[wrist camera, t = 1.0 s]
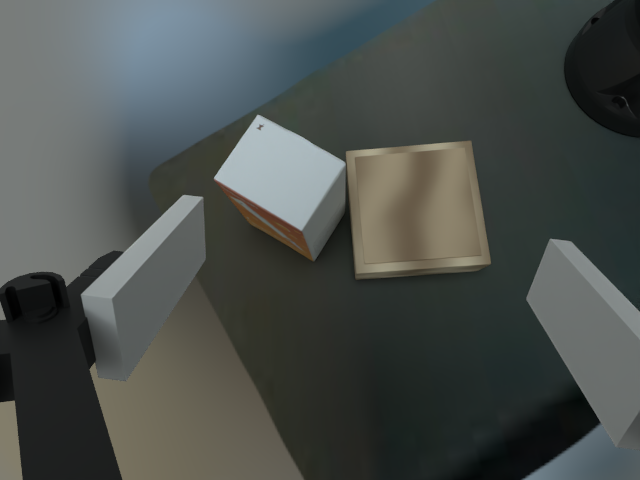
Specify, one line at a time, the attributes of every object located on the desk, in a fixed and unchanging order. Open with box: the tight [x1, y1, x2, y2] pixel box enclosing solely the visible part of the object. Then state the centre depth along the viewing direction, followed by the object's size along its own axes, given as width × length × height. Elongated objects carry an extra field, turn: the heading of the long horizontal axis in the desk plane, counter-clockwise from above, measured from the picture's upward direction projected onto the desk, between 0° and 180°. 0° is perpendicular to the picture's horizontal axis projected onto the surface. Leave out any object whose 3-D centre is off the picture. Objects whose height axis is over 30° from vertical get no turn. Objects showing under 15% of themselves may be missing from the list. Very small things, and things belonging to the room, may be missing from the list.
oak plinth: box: [346, 141, 491, 280], centre depth 41 cm, size 12×12×4 cm
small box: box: [214, 115, 346, 262], centre depth 37 cm, size 8×6×13 cm
